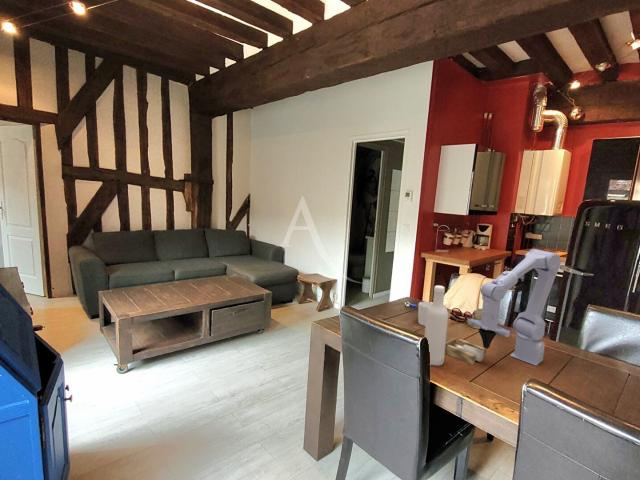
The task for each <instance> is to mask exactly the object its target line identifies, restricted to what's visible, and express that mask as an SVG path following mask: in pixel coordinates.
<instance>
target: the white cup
mask: <svg viewBox="0 0 640 480" xmlns="http://www.w3.org/2000/svg"><path fill="white" fill-rule="evenodd" d="M431 304H433V302H428V301H420V302H418V308H417V309H418V311H417V315H418V321H417V323H418V324H419V325H421V326H424V327H425V325H426V313H427V309H428V307H429V306H430V305H431Z"/></svg>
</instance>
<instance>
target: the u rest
mask: <svg viewBox="0 0 640 480" xmlns="http://www.w3.org/2000/svg"><path fill="white" fill-rule="evenodd" d="M455 344H458V345H460V346H464V345H465V344H466V345H469V346H472V347H475V348H477V349H480V350H483V351H484V357H483V359H484V358H485V357H486V353H487V349H486V348H483V346H480V345H479V344H476V343H472V342H469V341H467V340H464V339H462V338H459V339H458V340H457V338H456V337H451V338H449V339H446V343H445V355H449V356H451V357H454V358H456V359H459V360H460V361H463V362H465V363H467V364H470V365H472V366H473V365H475V363H476V360H475V355H473V354H471V353H468V352H466V351H464V350H461V349H459V348H456V347H454V346H455Z"/></svg>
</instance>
